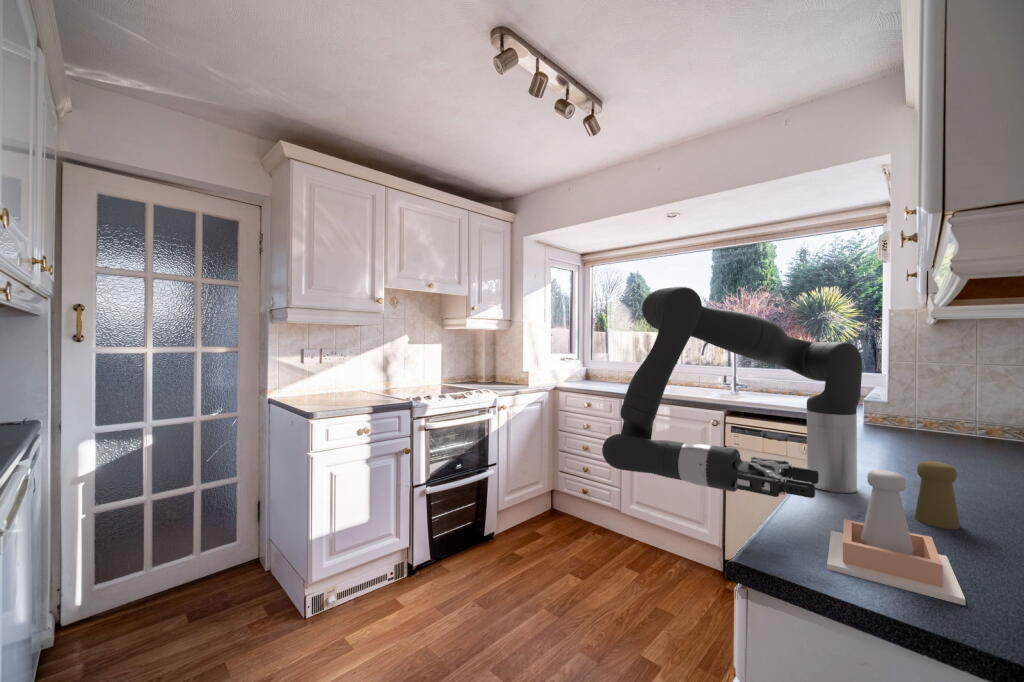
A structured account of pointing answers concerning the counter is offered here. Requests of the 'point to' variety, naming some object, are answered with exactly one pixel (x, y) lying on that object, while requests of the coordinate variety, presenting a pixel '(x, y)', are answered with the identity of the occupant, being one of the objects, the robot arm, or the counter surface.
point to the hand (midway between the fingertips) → (816, 483)
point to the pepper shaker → (937, 495)
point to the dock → (894, 564)
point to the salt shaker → (886, 513)
